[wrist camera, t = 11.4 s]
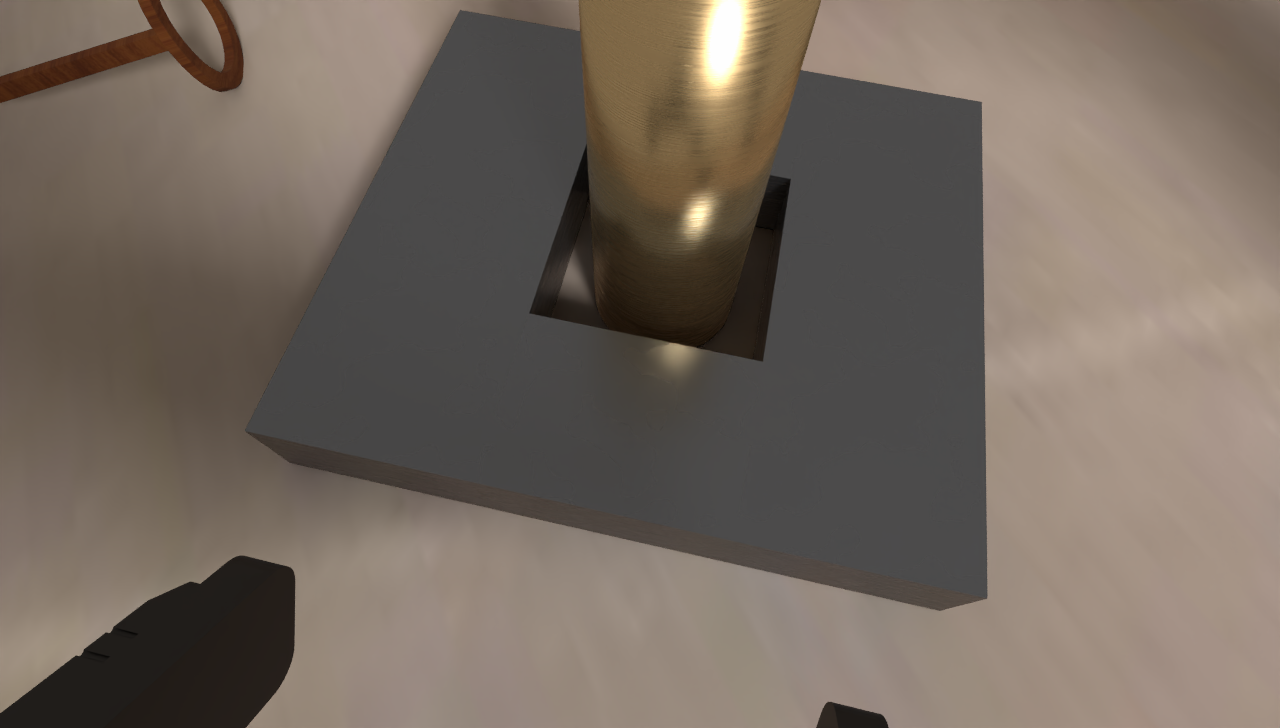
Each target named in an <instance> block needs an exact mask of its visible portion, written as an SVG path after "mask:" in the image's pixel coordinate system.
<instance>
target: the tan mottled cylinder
mask: <svg viewBox="0 0 1280 728" xmlns="http://www.w3.org/2000/svg"><path fill="white" fill-rule="evenodd" d="M820 2H821V0H579V15H580V33H581V51H582V69H583V87H584V105H585V123H586V141H587V158H588V176H589V194H590V212H591V230H592V248H593V266H594V284H595V298H596V304H597V308H598V311H599V313H600V316H601V318H602V319H603V321H604V323H605V324H606V325H607V327H608V328H609V329H610V330H612V331H617V332H622V333H626V334H631V335H636V336H641V337H646V338H651V339H655V340H660V341H665V342H670V343H675V344H680V345H684V346H689V347H694V348H695V347H697V346H699V345H702V344H703V343H705V342H706V341H708V340H710V339H711V338H712V337H713V336H714V335H715V334H717V332H718V331H719V330H720V329H721V328H722V326H723V325H724V323H725V322H726V320H727V317H728V315H729V313H730V309H731V306H732V302H733V299H734V296H735V292H736V289H737V285H738V282H739V279H740V275H741V272H742V268H743V265H744V262H745V258H746V255H747V251H748V248H749V245H750V241H751V238H752V234H753V231H754V227H755V224H756V221H757V217H758V214H759V210H760V207H761V204H762V200H763V197H764V193H765V190H766V187H767V183H768V180H769V176H770V173H771V170H772V166H773V163H774V159H775V156H776V152H777V149H778V146H779V142H780V139H781V135H782V132H783V129H784V125H785V122H786V118H787V115H788V112H789V108H790V105H791V101H792V98H793V95H794V91H795V88H796V84H797V81H798V77H799V74H800V71H801V67H802V64H803V60H804V57H805V54H806V50H807V47H808V43H809V40H810V37H811V33H812V30H813V26H814V23H815V20H816V16H817V13H818V9H819V6H820Z"/></svg>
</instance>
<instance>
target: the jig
mask: <svg viewBox="0 0 1280 728" xmlns="http://www.w3.org/2000/svg"><path fill="white" fill-rule="evenodd" d="M589 197H590V194H589V176H588V158H587V141H586V123H585V105H584V87H583V69H582V51H581V33H580V31H575V30H570V29H564V28H558V27H553V26H547V25H541V24H536V23H530V22H524V21H518V20H513V19H507V18H501V17H496V16H490V15H484V14H479V13H473V12H467V11H462V10H460V12H459V14H458V15H457V17H456V19H455V21H454V23H453V25H452V27H451V29H450V31H449V33H448V35H447V37H446V39H445V41H444V43H443V45H442V47H441V49H440V51H439V53H438V55H437V56H436V58H435V60H434V62H433V64H432V66H431V68H430V70H429V72H428V74H427V76H426V78H425V80H424V82H423V84H422V86H421V88H420V90H419V92H418V94H417V96H416V97H415V99H414V101H413V103H412V105H411V107H410V109H409V111H408V113H407V115H406V117H405V119H404V121H403V123H402V125H401V127H400V129H399V131H398V133H397V135H396V137H395V138H394V140H393V142H392V144H391V146H390V148H389V150H388V152H387V154H386V156H385V158H384V160H383V162H382V164H381V166H380V168H379V170H378V172H377V174H376V176H375V178H374V179H373V181H372V183H371V185H370V187H369V189H368V191H367V193H366V195H365V197H364V199H363V201H362V203H361V205H360V207H359V209H358V211H357V213H356V215H355V217H354V219H353V220H352V222H351V224H350V226H349V228H348V230H347V232H346V234H345V236H344V238H343V240H342V242H341V244H340V246H339V248H338V250H337V252H336V254H335V256H334V258H333V260H332V261H331V263H330V265H329V267H328V269H327V271H326V273H325V275H324V277H323V279H322V281H321V283H320V285H319V287H318V289H317V291H316V293H315V295H314V297H313V299H312V301H311V302H310V304H309V306H308V308H307V310H306V312H305V314H304V316H303V318H302V320H301V322H300V324H299V326H298V328H297V330H296V332H295V334H294V336H293V338H292V340H291V342H290V343H289V345H288V347H287V349H286V351H285V353H284V355H283V357H282V359H281V361H280V363H279V365H278V367H277V369H276V371H275V373H274V375H273V377H272V379H271V381H270V383H269V384H268V386H267V388H266V390H265V392H264V394H263V396H262V398H261V400H260V402H259V404H258V406H257V408H256V410H255V412H254V414H253V416H252V418H251V420H250V422H249V424H248V425H247V427H246V429H245V431H246V432H247V433H248V434H250V435H251V436H253V437H254V438H256V439H257V440H258V441H260V442H261V443H263V444H264V445H265V446H267V447H268V448H270V449H271V450H273V451H274V452H275V453H277V454H278V455H280V456H281V457H283V458H284V459H285V460H287V461H288V462H290V463H294V464H299V465H303V466H308V467H312V468H316V469H321V470H325V471H329V472H334V473H338V474H343V475H347V476H351V477H356V478H360V479H365V480H369V481H373V482H378V483H382V484H386V485H391V486H395V487H400V488H404V489H408V490H413V491H417V492H422V493H426V494H430V495H435V496H439V497H444V498H448V499H452V500H457V501H461V502H465V503H470V504H474V505H479V506H483V507H487V508H492V509H496V510H501V511H505V512H509V513H514V514H518V515H522V516H527V517H531V518H536V519H540V520H544V521H549V522H553V523H558V524H562V525H566V526H571V527H575V528H579V529H584V530H588V531H593V532H597V533H601V534H606V535H610V536H615V537H619V538H623V539H628V540H632V541H636V542H641V543H645V544H650V545H654V546H658V547H663V548H667V549H672V550H676V551H680V552H685V553H689V554H694V555H698V556H702V557H707V558H711V559H715V560H720V561H724V562H729V563H733V564H737V565H742V566H746V567H751V568H755V569H759V570H764V571H768V572H772V573H777V574H781V575H786V576H790V577H794V578H799V579H803V580H808V581H812V582H816V583H821V584H825V585H829V586H834V587H838V588H843V589H847V590H851V591H856V592H860V593H865V594H869V595H873V596H878V597H882V598H887V599H891V600H895V601H900V602H904V603H908V604H913V605H917V606H922V607H926V608H930V609H935V610H939V611H941V610H945V609H948V608H952V607H956V606H960V605H964V604H968V603H972V602H976V601H980V600H983V599H987V526H986V440H985V354H984V268H983V182H982V102H978V101H973V100H967V99H961V98H955V97H950V96H944V95H938V94H933V93H927V92H921V91H916V90H910V89H904V88H899V87H893V86H887V85H882V84H876V83H870V82H865V81H859V80H853V79H848V78H842V77H836V76H831V75H825V74H819V73H814V72H808V71H802V70H801V71H800V74H799V77H798V81H797V84H796V88H795V91H794V95H793V98H792V101H791V105H790V108H789V112H788V115H787V118H786V122H785V125H784V129H783V132H782V135H781V139H780V142H779V146H778V149H777V152H776V156H775V159H774V163H773V166H772V170H771V173H770V176H769V180H768V183H767V187H766V190H765V193H764V197H763V200H762V204H761V207H760V210H759V214H758V217H757V221H756V224H755V226H758V227H763V228H768V229H773V230H774V232H773V238H772V244H771V251H770V257H769V263H768V269H767V275H766V282H765V288H764V294H763V300H762V307H761V313H760V319H759V325H758V331H757V338H756V344H755V350H754V356H753V360H752V359H747V358H742V357H738V356H733V355H728V354H723V353H718V352H713V351H709V350H704V349H699V348H694V347H689V346H684V345H680V344H675V343H670V342H665V341H660V340H655V339H651V338H646V337H641V336H636V335H631V334H626V333H622V332H617V331H612V330H607V329H602V328H597V327H593V326H588V325H583V324H578V323H573V322H568V321H563V320H559V319H554V318H551V315H552V312H553V309H554V306H555V303H556V300H557V297H558V294H559V290H560V287H561V284H562V281H563V278H564V275H565V272H566V269H567V266H568V262H569V259H570V256H571V253H572V250H573V247H574V244H575V241H576V238H577V234H578V231H579V228H580V225H581V222H582V219H583V216H584V213H585V210H586V207H587V203H588V200H589Z"/></svg>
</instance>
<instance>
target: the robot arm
mask: <svg viewBox="0 0 1280 728" xmlns="http://www.w3.org/2000/svg"><path fill="white" fill-rule="evenodd" d="M294 636H295V575H294V572H293V570H292V569H291V568H290V567H287V566H283V565H279V564H275V563H271V562H267V561H263V560H259V559H255V558H251V557H247V556H237V557H235V558H233V559H231V560H230V561H228V562H227V563H226V564H224V565H223V566H222V567H221V568H220V569H218V570H217V571H216V572H215V573H213V574H212V575H211V576H210V577H208V578H207V579H206V580H205V581H203V582H202V583H201V584H198V583H194V582H188V583H186V584H184V585H181V586H179V587H177V588H175V589H173V590H170V591H168V592H166V593H164V594H162V595H159V596H157V597H155V598H153V599H150V600H148V601H147V602H145V603H144V604H143V605H142V606H140V607H139V608H138V609H136V610H135V611H134V612H132V613H131V614H130V615H128V616H127V617H126V618H125V619H123V620H122V621H121V622H119V623H118V624H117V625H115V626H114V627H113V630H112V632H111V633H105V634H104V635H102V636H101V637H100V638H98V639H97V640H96V641H94V642H93V643H92V644H90V645H89V646H88V647H87V648H85V649H84V651H83V653H82V655H81V656H75V657H73V658H72V659H71V660H70V661H68V662H67V663H66V664H64V665H63V666H62V667H60V668H59V669H58V670H56V671H55V672H54V673H53V674H51V675H50V676H49V677H47V678H46V679H45V680H43V681H42V682H41V683H39V684H38V685H37V686H36V687H34V688H33V689H32V690H30V691H29V692H28V693H26V694H25V695H24V696H22V697H21V698H20V699H19V700H17V701H16V702H15V703H13V704H12V705H11V706H9V707H8V708H7V709H5V710H4V711H3V712H2V713H0V728H246V727H247V726H248V724H249V723H250V722H251V721H252V720H253V719H254V717H255V716H256V715H257V714H258V713H259V712H260V710H261V709H262V708H263V707H264V706H265V704H266V703H267V702H268V701H269V700H270V699H271V697H272V696H273V695H274V694H275V693H276V691H277V690H278V688H279V687H280V685H281V684H282V682H283V680H284V678H285V676H286V674H287V672H288V670H289V667H290V664H291V661H292V658H293V653H294ZM816 728H888V724H887V722H886V719H885V718H884V716H883V715H881V714H877V713H873V712H869V711H865V710H861V709H857V708H853V707H849V706H845V705H841V704H837V703H833V702H828V703H826V705H825V706H824V708H823V710H822V713H821V715H820V718H819V721H818V724H817V727H816Z"/></svg>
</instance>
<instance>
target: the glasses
mask: <svg viewBox="0 0 1280 728" xmlns="http://www.w3.org/2000/svg"><path fill="white" fill-rule="evenodd" d="M138 2H139V4H140V7H141V9H142V11H143V13H144V15H145V16H146V18H147V20H148V22H149V24H150V25H151V27H152V28H153V29H150V30H147V31H144V32H140V33H137V34H134V35H131V36H128V37H125V38H121V39H118V40H115V41H112V42H109V43H106V44H102V45H99V46H96V47H93V48H90V49H86V50H83V51H80V52H77V53H74V54H71V55H67V56H64V57H61V58H58V59H55V60H51V61H48V62H45V63H42V64H39V65H36V66H32V67H29V68H26V69H23V70H20V71H17V72H13V73H10V74H7V75H4V76H1V77H0V103H2V102H5V101H8V100H11V99H15V98H18V97H21V96H24V95H27V94H31V93H34V92H37V91H40V90H43V89H47V88H50V87H53V86H56V85H59V84H63V83H66V82H69V81H72V80H75V79H79V78H82V77H85V76H88V75H91V74H95V73H98V72H101V71H104V70H107V69H111V68H114V67H117V66H120V65H124V64H127V63H130V62H133V61H136V60H140V59H143V58H146V57H149V56H152V55H156V54H159V53H162V52H165V51H169V52H170V53H171V54H172V56H173V57H174V58H175V59H176V60H177V61H178V62H179V63H180V64H181V66H182V67H183V68H185V69H186V70H187V71H188V72H189V73H190V74H191V75H192V76H193V77H194V78H196V79H197V80H198V81H199V82H201V83H202V84H203V85H205V86H207V87H209V88H210V89H212V90H216V91H219V92H222V91H227V90H230V89H234V88H236V87H237V86H238V85H239V84H240V83H241V80H242V78H243V64H244V63H243V55H242V49H241V46H240V42H239V38H238V36H237V33H236V30H235V28H234V25H233V23H232V21H231V19H230V17H229V15H228V13H227V12H226V10H225V8H224V7H223V5H222V4H221V2H220V1H219V0H202V2H203V3H204V5H205V6H206V8H207V9H208V11H209V13H210V14H211V16H212V18H213V20H214V22H215V24H216V26H217V28H218V31H219V33H220V36H221V39H222V43H223V47H224V53H225V63H224V68H223V70H222V72H218V71H216V70H214V69H212V68H211V67H209V66H208V65H207V64H205V63H204V62H203V61H202V60H201V59H200V58H199V57H198V56H197V55H196V54H195V53H194V52H193V51H192V50H191V49H190V48H189V47H188V45H187V44H186V43H185V42H184V41H183V39H182V38H181V37H180V35H179V34H178V33H177V31H176V30H175V28H174V27H173V25H172V23H171V22H170V20H169V19H168V17H167V15H166V13H165V11H164V9H163V7H162V5H161V2H160V0H138Z"/></svg>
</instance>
